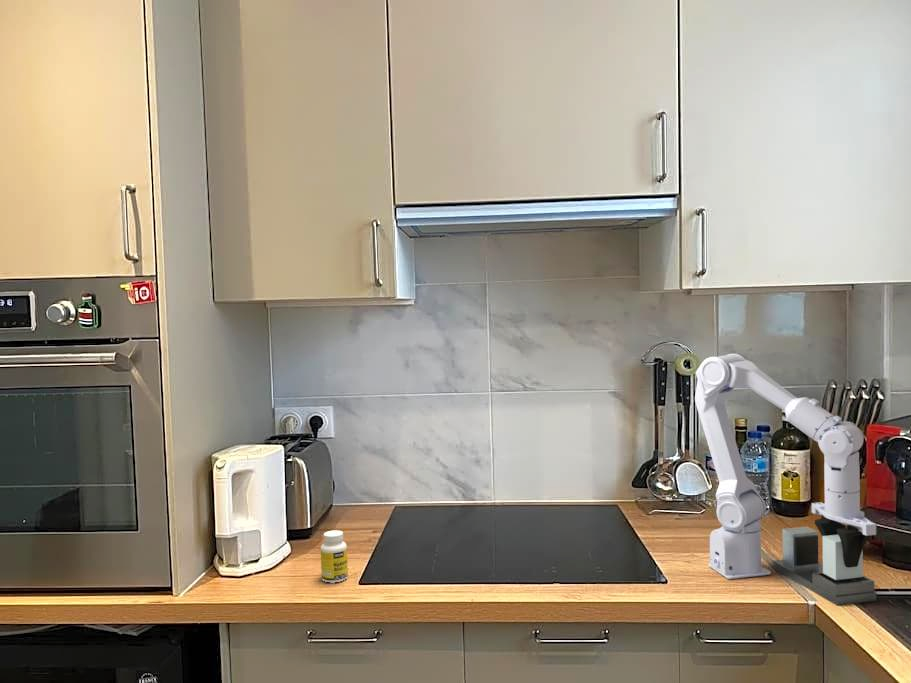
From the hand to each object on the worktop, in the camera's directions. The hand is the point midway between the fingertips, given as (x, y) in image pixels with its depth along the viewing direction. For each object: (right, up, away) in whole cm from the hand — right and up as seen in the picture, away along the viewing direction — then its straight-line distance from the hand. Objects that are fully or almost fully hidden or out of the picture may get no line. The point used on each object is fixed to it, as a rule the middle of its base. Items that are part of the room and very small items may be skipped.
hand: (842, 562), depth 133 cm
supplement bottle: (-97, -9, +18) cm, 99 cm away
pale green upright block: (0, -2, 0) cm, 2 cm away
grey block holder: (-1, -6, +6) cm, 9 cm away
